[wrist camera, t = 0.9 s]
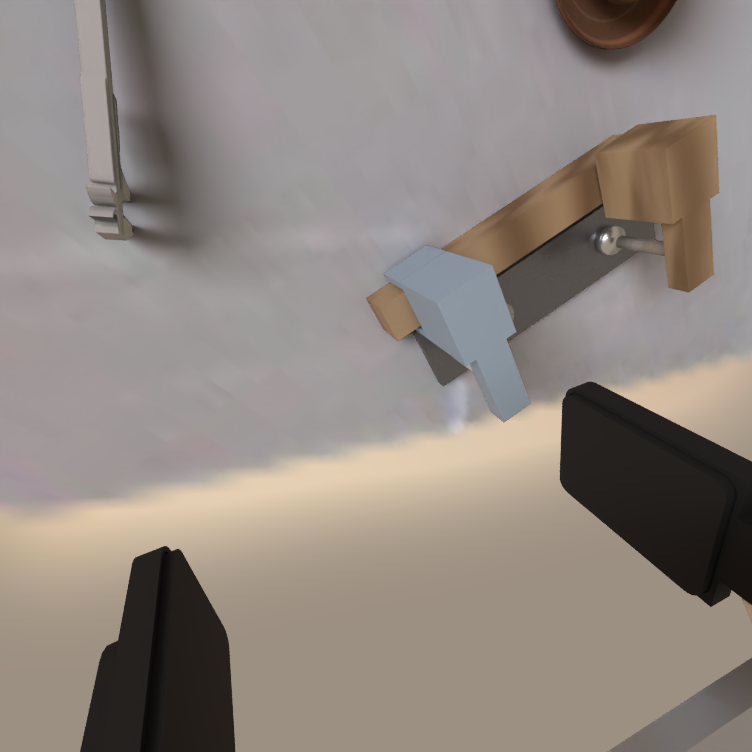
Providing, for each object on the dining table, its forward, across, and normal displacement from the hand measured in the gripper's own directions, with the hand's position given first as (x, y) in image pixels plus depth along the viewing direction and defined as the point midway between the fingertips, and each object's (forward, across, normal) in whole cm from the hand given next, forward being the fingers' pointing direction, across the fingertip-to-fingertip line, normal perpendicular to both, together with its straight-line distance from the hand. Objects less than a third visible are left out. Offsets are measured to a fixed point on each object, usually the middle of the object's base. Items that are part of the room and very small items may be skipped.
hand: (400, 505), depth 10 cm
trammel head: (+23, -12, +6) cm, 27 cm away
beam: (+23, -20, +3) cm, 31 cm away
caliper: (+24, +4, -15) cm, 29 cm away
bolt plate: (+23, -23, +5) cm, 33 cm away
